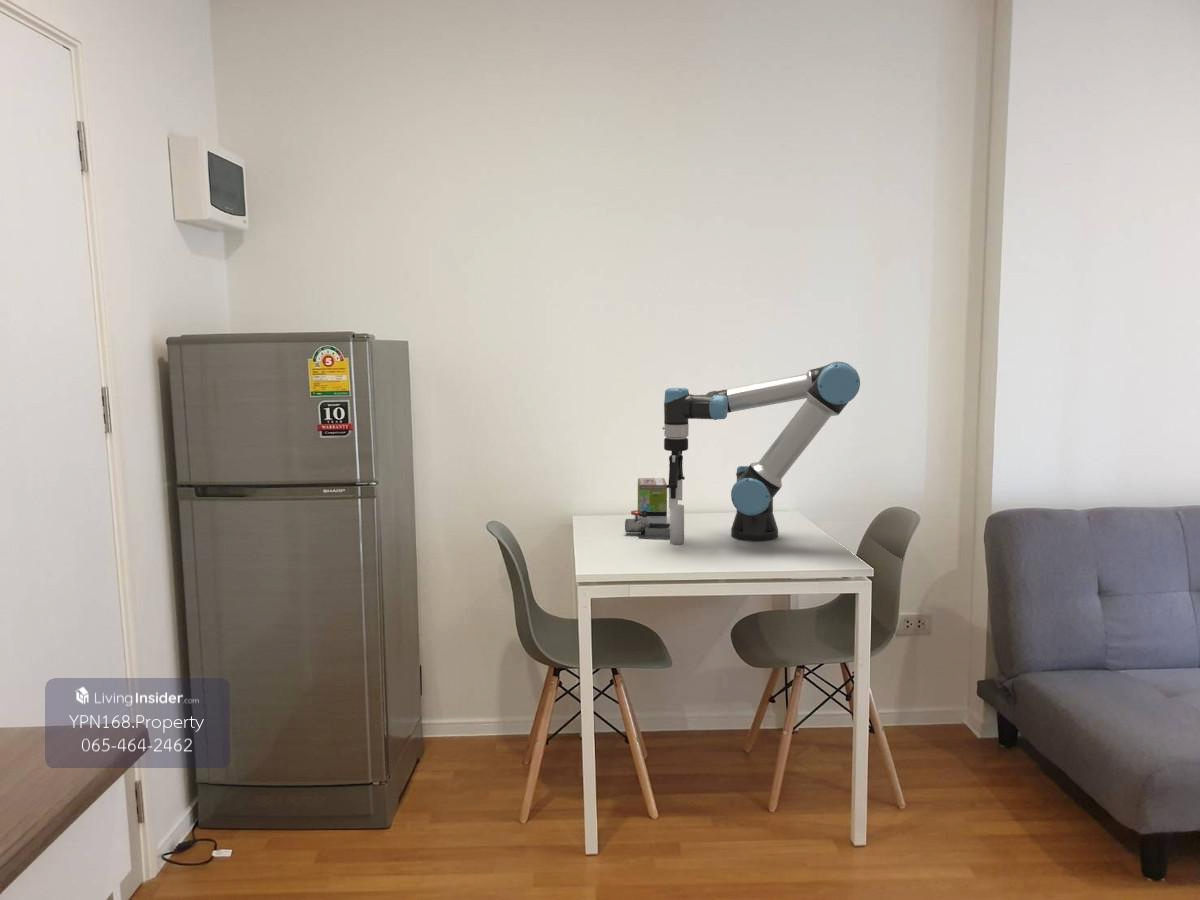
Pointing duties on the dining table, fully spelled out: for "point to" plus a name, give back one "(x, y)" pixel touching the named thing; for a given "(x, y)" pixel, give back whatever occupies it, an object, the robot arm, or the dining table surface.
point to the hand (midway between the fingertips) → (675, 504)
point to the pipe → (677, 525)
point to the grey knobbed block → (647, 528)
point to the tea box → (652, 499)
